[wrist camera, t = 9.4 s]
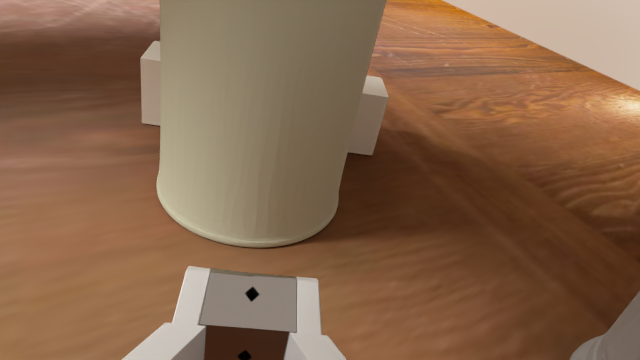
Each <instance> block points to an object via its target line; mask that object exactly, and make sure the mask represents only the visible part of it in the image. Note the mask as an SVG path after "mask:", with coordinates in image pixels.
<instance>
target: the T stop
mask: <svg viewBox="0 0 640 360" xmlns="http://www.w3.org/2000/svg"><path fill="white" fill-rule="evenodd" d="M140 63H141V102H142V123H144V124H151V125H158V126H160V42H159V41H154V42H153V43H152V44H151V45H150V47H149V48H148V49H147V50H146V52H145V53H144V54H143V55H142V57H141V58H140ZM388 99H389V96H388V94H387V91H386V89H385V86H384V83H383V81H382V78H379V77H373V76H366V80H365V84H364V88H363V92H362V96H361V100H360V104H359V108H358V112H357V115H356V119H355V123H354V128H353V132H352V136H351V140H350V144H349V148H348V152H350V153H357V154H364V155H371V156H372V155H373V151H374V148H375V144H376V141H377V137H378V134H379V130H380V127H381V123H382V120H383V116H384V113H385V109H386V106H387V102H388Z"/></svg>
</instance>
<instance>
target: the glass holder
mask: <svg viewBox="0 0 640 360" xmlns="http://www.w3.org/2000/svg"><path fill="white" fill-rule="evenodd" d="M570 360H640V291H639V292H638V294H637V295H636V296H635V297H634V299H633V300H632V301H631V302H630V304H629V305H628V306H627V307H626V309H625V310H624V311H623V312H622V314H621V315H620V316H619V317H618V319H617V320H616V321H615V323H614V324H613V325H612V326H611V328H610V329H609V330H608V331H607V332H606V333H605V334H604V335H601V336H598V337H595V338H593V339H591V340H589V341H587V342H585V343H583V344H582V345H581V346H580V347H579V348H578V349H577V350H576V351H574V352H573V354H572V356H571V358H570Z"/></svg>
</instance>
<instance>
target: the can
mask: <svg viewBox="0 0 640 360" xmlns="http://www.w3.org/2000/svg"><path fill="white" fill-rule="evenodd" d="M386 1H387V0H160V167H159V173H158V177H157V183H156V185H157V194H158V197H159V200H160V202H161V204H162V206H163V207H164V209H165V210H166V212H167V213H168V214H169V215H170V216H171V217H172V218H173V219H174V220H175V221H176V222H178V223H179V224H180V225H182V226H183V227H185V228H186V229H188V230H189V231H191V232H193V233H195V234H197V235H199V236H202V237H204V238H207V239H210V240H213V241H216V242H220V243H223V244H228V245H233V246H240V247H255V248H266V247H276V246H283V245H288V244H292V243H296V242H299V241H302V240H304V239H307V238H309V237H311V236H313V235H315V234H316V233H318V232H319V231H321V230H322V229H323V228H324V227H326V226H327V225H328V224H329V222H330V221H331V220H332V218H333V217H334V215H335V213H336V210H337V207H338V201H339V194H338V192H339V187H340V182H341V178H342V173H343V169H344V165H345V161H346V157H347V152H348V148H349V144H350V140H351V136H352V132H353V128H354V123H355V119H356V115H357V112H358V108H359V104H360V100H361V96H362V92H363V88H364V84H365V80H366V76H367V72H368V68H369V65H370V61H371V57H372V53H373V49H374V46H375V42H376V38H377V34H378V31H379V27H380V23H381V19H382V16H383V12H384V8H385V4H386Z"/></svg>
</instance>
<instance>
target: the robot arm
mask: <svg viewBox="0 0 640 360" xmlns="http://www.w3.org/2000/svg"><path fill="white" fill-rule="evenodd" d="M122 360H347V359H346V358H345V357H344V355H343V354H342V353H341V352H340V350H339V349H338V348H337V346H336V345H335V344H334V343H333V341H332V340H331V339H330V337H329V336H325V335H322V327H321V310H320V294H319V281H318V279H317V278H305V277H293V276H282V275H270V274H259V273H246V272H238V271H230V270H222V269H213V268H211V269H209V268H201V267H193V266H189V267H188V269H187V270H186V273H185V277H184V280H183V284H182V288H181V292H180V295H179V299H178V303H177V306H176V310H175V314H174V317H173V321H172V323H164V324H163V325H162V326H161V327H159V328H158V329H157V330H156V331H155V332H154V333H152V334H151V335H150V336H149V337H148V338H147V339H145V340H144V341H143V342H142V343H141V344H139V345H138V346H137V347H136V348H135V349H134V350H132V351H131V352H130V353H129V354H128V355H127V356H125V357H124V358H123V359H122Z"/></svg>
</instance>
